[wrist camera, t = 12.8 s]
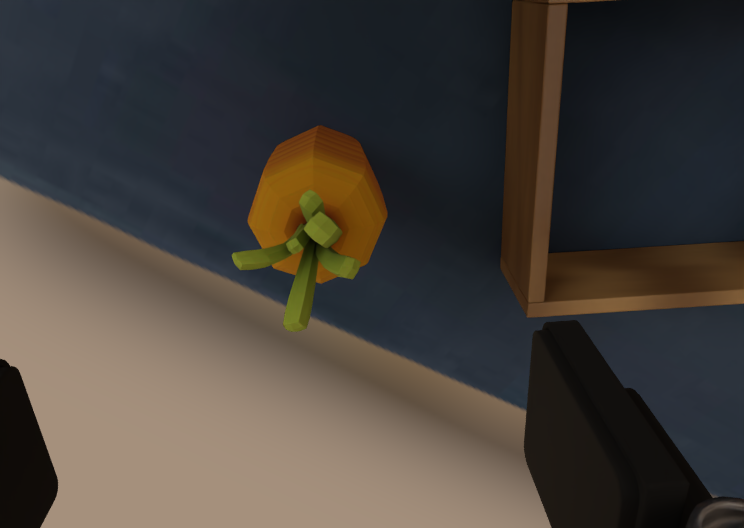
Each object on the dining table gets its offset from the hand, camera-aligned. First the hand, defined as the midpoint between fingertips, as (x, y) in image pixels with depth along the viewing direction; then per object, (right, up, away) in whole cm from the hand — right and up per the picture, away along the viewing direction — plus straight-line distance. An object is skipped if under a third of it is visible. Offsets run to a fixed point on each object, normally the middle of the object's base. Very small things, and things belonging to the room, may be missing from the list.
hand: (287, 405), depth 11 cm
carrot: (-1, +9, +20) cm, 22 cm away
